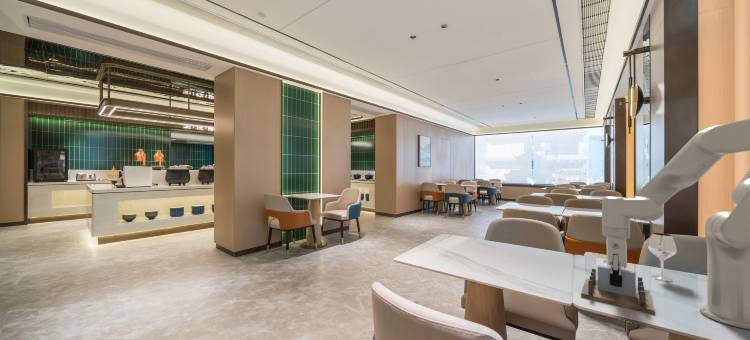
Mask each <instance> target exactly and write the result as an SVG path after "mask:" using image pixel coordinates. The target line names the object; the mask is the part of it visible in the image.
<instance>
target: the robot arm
mask: <svg viewBox="0 0 750 340" xmlns="http://www.w3.org/2000/svg"><path fill="white" fill-rule="evenodd" d="M747 151H750V118H747V119H743V120H737V121H733V122H728V123H723V124H722V123H721V124H717V125H713V126H710V127H708V128H705V129H702V130H700V131H698V132H697V133H696V134H694V135H693V136H692V137H691V138H690V139H689V140H688V142H687V143H685V145H684V146H683V147H682V148H681V149H679V151H678V152H677V153H676V154H674V156H673V157H672V158H671V159H670V160H669V161H668V162H667V163H666V164H665V165H664V166H663V167H662V168H661V169H660V170H659V171H658V172H657V173H656V174H655V175H654V176H653V177H652V178H651V179H650V180H649V181H647V183H646V184H645V185H644V186H643V187H642V188H641V189H639V191H638V192H637V193H636V194H635V195H634V196H633V197H632V198H627V197H623V196H603V198H602V200H601V235H602V236H604V237H605V238H606V241H605V242H606V259H607V265H608V266H609V267H611V273H610V285H612V286H616V287H622V275H621V269H622V267H623V268H624V269H626V268H627V267H628V255H627V254H628V253H627V252H628V246H627V243H628V242H627V239H631V219H633V220H637V221H638V220H640V221H644V222H653V221H657V220H659V219H661V218H662V217H663V215H664V213H665V210H664V206H663V205H665V203H667V202H668V201H669V200H670V199H671V198H672V197H673V196H674V195H676V194H677V193H679V192H681V191H682V190H685V189H686V188H690V187H691V186H693V185H694V184H696V183H698V181H699V180H701V178H702V177H704V176H705V175H706V174H707V173H708V172H709V171H710V169H712V167H714V166H715V165H716V164H717V163H718V162H719V161H720V160H721V159H722V158H723V157H724V156H725V155H728V154H735V153H742V152H747ZM731 200H732V201H733V203H734V204H735V207H734V208H733V209H732V211H730V210H729V211H728V210H725V211H717V212H716V213H713V214H712V215H710V216H709V217H707V219H706V221H705V223H704V235H705V240H706V241H705V242H706V252H707V253H706V254H707V255H706V256H707V260H706V262H707V265H706V271H707V275H706V276H707V277H706V278H707V285H706V286H707V287H706V288H707V290H706V293H707V294H706V295H707V296H706V298H707V299H706V301H707V304H706V305H701V306H700V307H699V312H700V313H701V314H702V315H703V316H705V317H707V318H709V319H712V320H714V321H716V322H719V323H722V324H725V325H728V326H733V327H736V328H740V329H746V330H750V169H749V170H748V171H747V172H746V173H745V174H744V175H743V177H742V178H741V180H740V181H739V182H738V184H737V185H736V186H735V188H733V190H732V192H731Z"/></svg>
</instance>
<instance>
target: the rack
mask: <svg viewBox="0 0 750 340" xmlns="http://www.w3.org/2000/svg"><path fill="white" fill-rule="evenodd" d="M596 272H597V270H596V268H591V271H590V275H589V277H585V281H584V283H583V286H582V289H581V292H580V298H585V299H589V300H593V301H597V302H602V303H605V304H609V305H614V306H617V307H618V306H619V307H622V308H626V309H630V310H635V311H639V312H642V313H647V314H651V315H655V308H654V303H653V300H652V295H651V291H650V290H647V289H645V286H644V281H643V277H642V276H637V287H636V297H631V296H626V295H622V294H617V293H613V292H608V291H604V290H599V289H598V279H597V277H596V276H597V273H596Z"/></svg>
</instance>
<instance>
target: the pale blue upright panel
mask: <svg viewBox="0 0 750 340" xmlns="http://www.w3.org/2000/svg"><path fill="white" fill-rule="evenodd" d="M610 273H611V266H604V265H597V280H598V289H599V290H604V291H608V292H613V293H617V294H622V295H626V296H631V297H636V288H637V285H636V284H637V282H636V275H637V274H636V273H637V272H636V271H634V270H627V269H623V268H621V275H622V287H616V286H612V285H610Z"/></svg>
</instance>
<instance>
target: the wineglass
mask: <svg viewBox="0 0 750 340" xmlns="http://www.w3.org/2000/svg"><path fill="white" fill-rule="evenodd" d="M647 248H648V250H649V251H650V252H651V254H653V255H654V256H655V257H656V258H658V259H659V261H660V275H658V274H651V275H650V277H651V278H652V279H655V280H657V281H663V282H674V279H673V278H671V277H668V276H664V275H665V273H664V271H665V270H664V262H665V261H666V260H668V259H670V258H672V257H673V256H674V255H676V254H677V252H678V249H677V245H676V242H675V239H674V237H673V235H672V234H669V233H668V234H667V233H662V232H661V233H660V232H652V233H651V235H650V238H649V241H648V245H647Z"/></svg>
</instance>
